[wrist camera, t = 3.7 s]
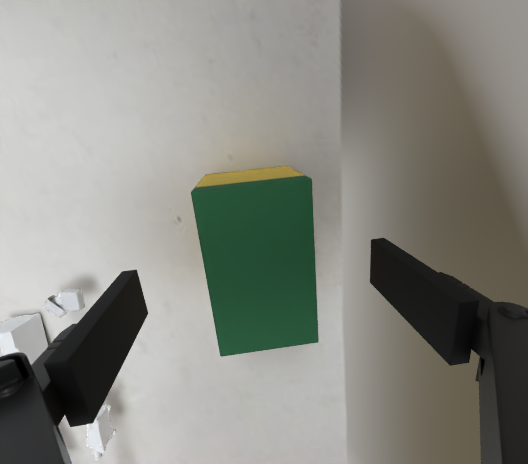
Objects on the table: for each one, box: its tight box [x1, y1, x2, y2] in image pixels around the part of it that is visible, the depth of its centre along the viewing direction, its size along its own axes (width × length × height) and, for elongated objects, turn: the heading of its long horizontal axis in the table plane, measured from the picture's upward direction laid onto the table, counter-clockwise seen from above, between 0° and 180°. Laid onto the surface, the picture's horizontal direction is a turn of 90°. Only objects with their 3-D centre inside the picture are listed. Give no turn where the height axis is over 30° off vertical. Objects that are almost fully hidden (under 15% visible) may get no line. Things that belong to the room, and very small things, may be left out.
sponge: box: [191, 166, 318, 356], centre depth 19 cm, size 10×6×7 cm, turn 6°
